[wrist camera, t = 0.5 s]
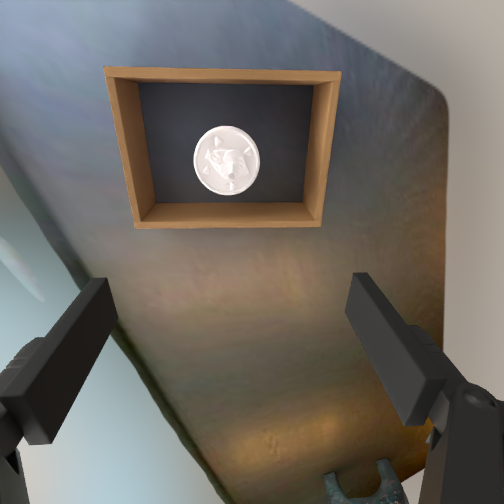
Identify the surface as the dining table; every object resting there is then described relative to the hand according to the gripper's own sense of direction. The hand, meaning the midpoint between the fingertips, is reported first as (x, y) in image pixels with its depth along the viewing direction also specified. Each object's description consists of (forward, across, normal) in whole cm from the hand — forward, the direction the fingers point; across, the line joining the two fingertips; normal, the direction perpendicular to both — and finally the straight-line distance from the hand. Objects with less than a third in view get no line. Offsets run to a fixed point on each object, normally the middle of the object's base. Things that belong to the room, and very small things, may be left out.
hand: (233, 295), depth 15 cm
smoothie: (+25, -1, +4) cm, 25 cm away
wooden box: (+25, -1, +4) cm, 25 cm away
